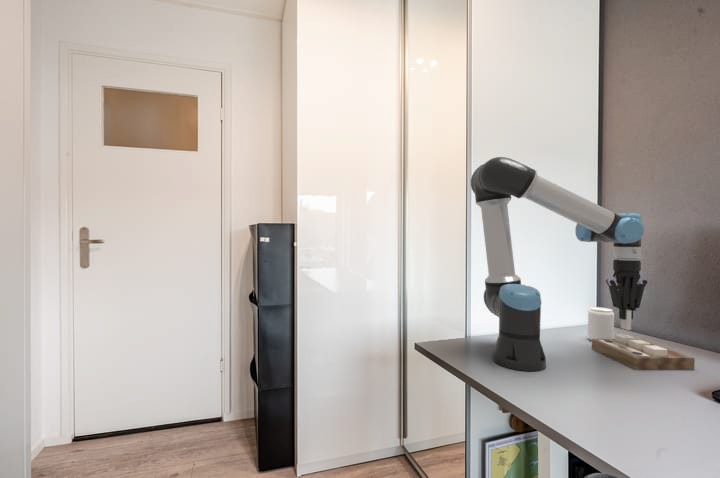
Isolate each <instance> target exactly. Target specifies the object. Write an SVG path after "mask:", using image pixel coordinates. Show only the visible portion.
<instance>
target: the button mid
mask: <svg viewBox="0 0 720 478" xmlns="http://www.w3.org/2000/svg"><path fill="white" fill-rule="evenodd" d="M644 345H651V343H648V342H645V341H642V340H628V346H629V347H632V348H634V349H637V350H643V347H644Z"/></svg>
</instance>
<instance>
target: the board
mask: <svg viewBox="0 0 720 478" xmlns="http://www.w3.org/2000/svg"><path fill="white" fill-rule="evenodd" d="M635 340H642V341H645V342H648V343H651V345H656V346H659V347H661V348H664V349H667V357H654V356H651V355H649V354H646V353H644V352H643V350H637V349H634V348H632V347H629V346H628V344H622V343H619V342H617V341H615V338H614V339H592V340H591V350H593V351H595V352H597V353H599V354H601V355H604V356H606V357H608V358H609V359H612V360H614V361H616V362H618V363H620V364H622V365H624V366H626V367H628V368H631V369H632V370H634V371H666V370H667V371H668V370H669V371H670V370H671V371H673V370H674V371H675V370H676V371H682V370H683V371H687V370H688V371H689V370H690V371H691V370H693V371H694V370H695V357H693V356H690V355H687V354H685V353H682V352H679V351H676V350H673V349H672V348H668V347H665V346H662V345H660V344H657V343H655V342H652V341H649V340H646V339H643V338H635Z"/></svg>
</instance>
